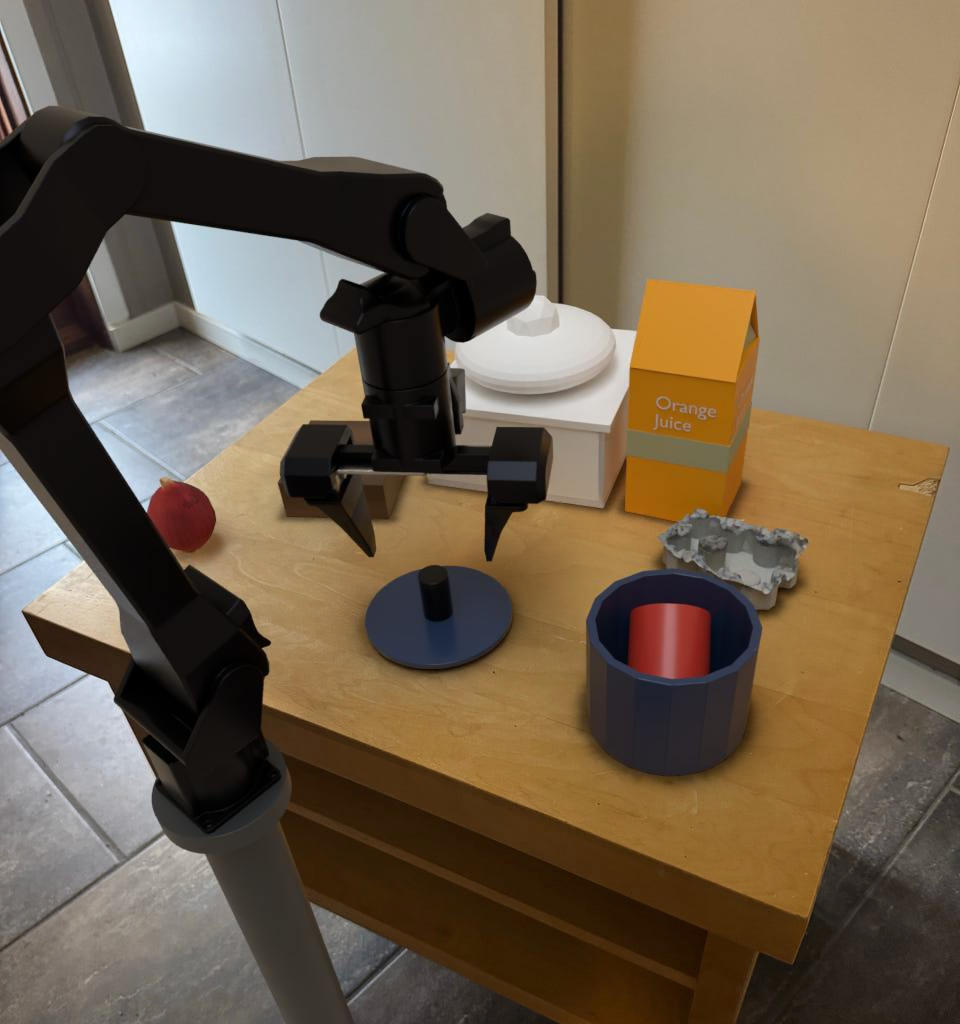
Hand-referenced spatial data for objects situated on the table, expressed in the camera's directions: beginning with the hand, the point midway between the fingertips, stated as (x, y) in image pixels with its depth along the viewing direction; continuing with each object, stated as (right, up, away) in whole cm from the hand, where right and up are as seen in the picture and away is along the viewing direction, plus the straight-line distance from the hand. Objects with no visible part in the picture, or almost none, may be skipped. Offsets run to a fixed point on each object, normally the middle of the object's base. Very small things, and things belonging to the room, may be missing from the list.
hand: (430, 556), depth 74 cm
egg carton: (+24, -1, +7) cm, 25 cm away
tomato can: (+17, -11, -8) cm, 22 cm away
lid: (0, -5, +5) cm, 6 cm away
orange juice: (+22, +6, +15) cm, 28 cm away
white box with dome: (+10, +13, +23) cm, 28 cm away
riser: (-9, +9, +21) cm, 24 cm away
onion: (-23, +2, +15) cm, 27 cm away
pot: (+17, -12, -4) cm, 21 cm away
